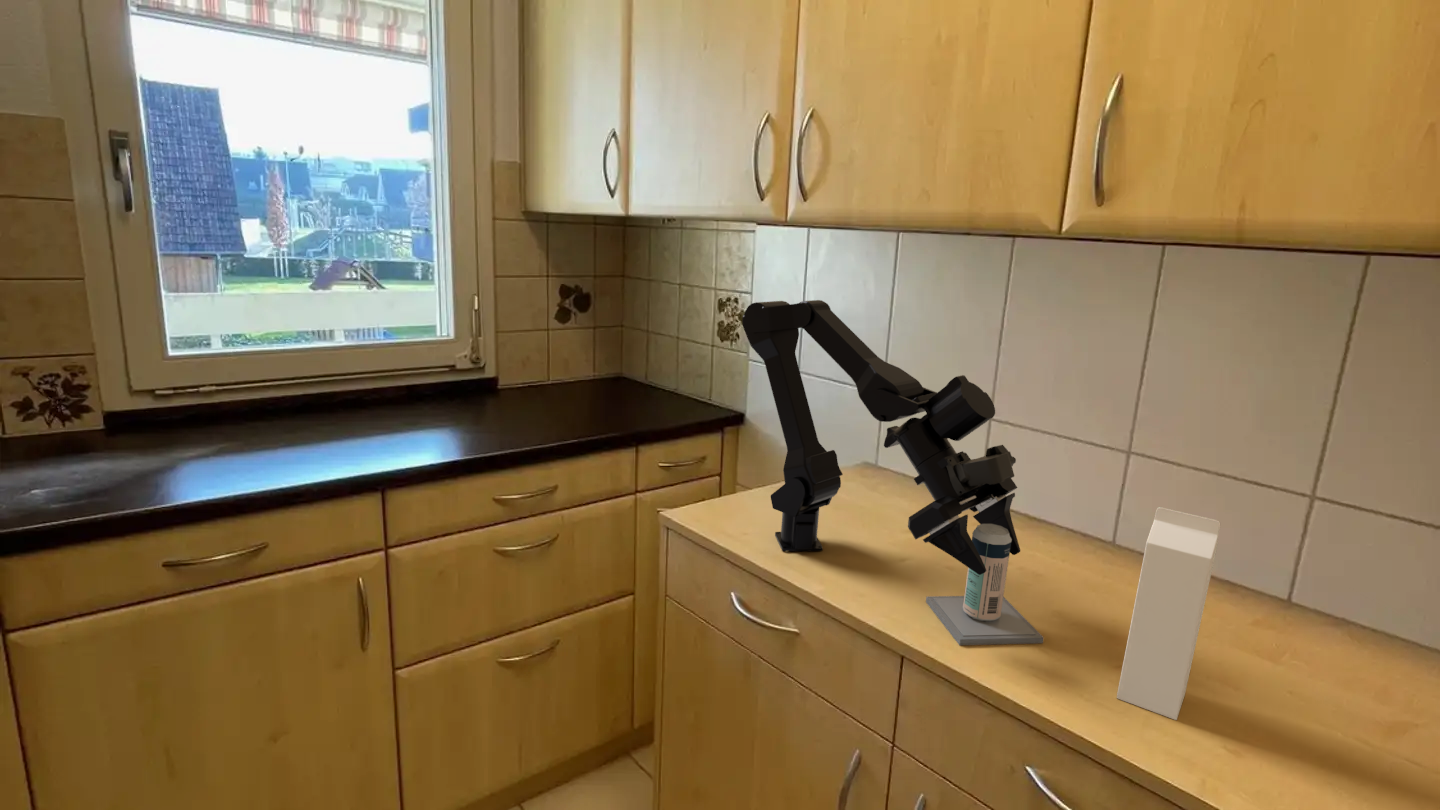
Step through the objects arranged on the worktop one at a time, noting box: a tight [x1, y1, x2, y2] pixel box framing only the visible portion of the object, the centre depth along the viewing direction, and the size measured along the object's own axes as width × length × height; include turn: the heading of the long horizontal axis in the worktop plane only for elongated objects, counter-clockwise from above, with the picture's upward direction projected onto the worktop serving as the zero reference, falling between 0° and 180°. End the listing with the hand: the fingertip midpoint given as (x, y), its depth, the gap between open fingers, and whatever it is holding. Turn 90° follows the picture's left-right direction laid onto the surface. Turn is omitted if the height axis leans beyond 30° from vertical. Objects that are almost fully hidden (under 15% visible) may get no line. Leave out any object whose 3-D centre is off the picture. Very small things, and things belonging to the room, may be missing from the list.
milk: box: [1116, 506, 1221, 721], centre depth 84 cm, size 6×6×22 cm
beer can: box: [963, 523, 1012, 622], centre depth 100 cm, size 5×5×12 cm
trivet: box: [925, 595, 1044, 646], centre depth 102 cm, size 11×11×1 cm
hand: (1000, 563), depth 99 cm, fingers open, 9 cm apart
